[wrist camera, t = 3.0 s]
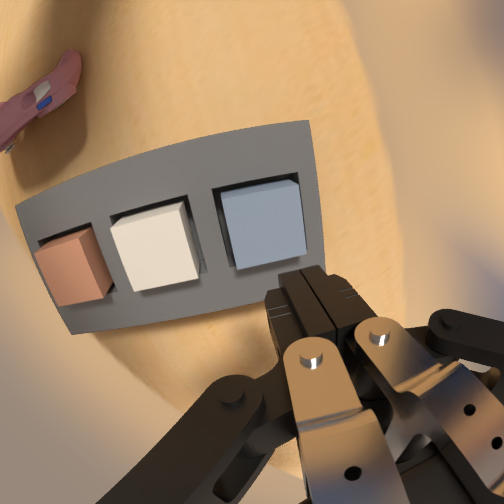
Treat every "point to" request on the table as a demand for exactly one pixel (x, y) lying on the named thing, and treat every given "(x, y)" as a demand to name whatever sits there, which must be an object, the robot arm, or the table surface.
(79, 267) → the terracotta key
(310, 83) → the table surface
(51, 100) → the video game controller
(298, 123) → the key console
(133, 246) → the off-white key
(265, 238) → the slate blue key
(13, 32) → the table surface
